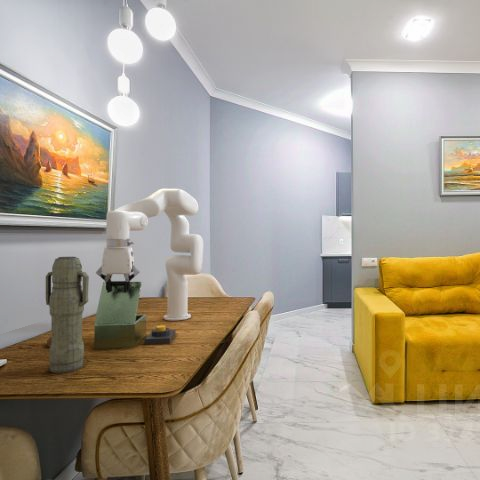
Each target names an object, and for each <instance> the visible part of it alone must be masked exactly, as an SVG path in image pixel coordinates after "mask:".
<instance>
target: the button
mask: <svg viewBox="0 0 480 480" xmlns="http://www.w3.org/2000/svg"><path fill="white" fill-rule="evenodd" d="M166 328H167V325H164V324H161V325H157V326H155V329H156V331H165V330H166Z"/></svg>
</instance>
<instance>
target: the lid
mask: <svg viewBox="0 0 480 480" xmlns="http://www.w3.org/2000/svg"><path fill="white" fill-rule="evenodd" d="M124 282H125V280H111V286H112V292H109V293H107V290H106V282H105V281H103V283H102V285H101V291H100V295H99V300H98V304H97V309H96V314H95V318H94V322H93V323H94V324H93V325H94V326H95V325H96V324H126V323H135V321H136V315H138V309H139V303H140V296H141V289H142V284H143V283H142V281H130V290H129V291H128V292H124Z"/></svg>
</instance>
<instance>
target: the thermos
mask: <svg viewBox="0 0 480 480" xmlns="http://www.w3.org/2000/svg"><path fill="white" fill-rule="evenodd" d="M89 280H90V276H89V274H87V272H86V271H83V265H82V263H81V260H80V258H79V257H77V256H58V258H55V259H54V261H53V264H52V267H51V271H49V272H47V274H46V275H45V304H46V306H48V308H49V315H50V319H51V324H50V325H51V326H50V327H51V328H50V329H51V336H50V337H51V347H49V348H48V363H49V372H50V373H54V374H61V373H62V374H63V373H69V372H73V371H76V370H79V369H81V368H82V367H84V358H85V342H84V341H83V313H84V311H85V305H87V303H88V302H89Z"/></svg>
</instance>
